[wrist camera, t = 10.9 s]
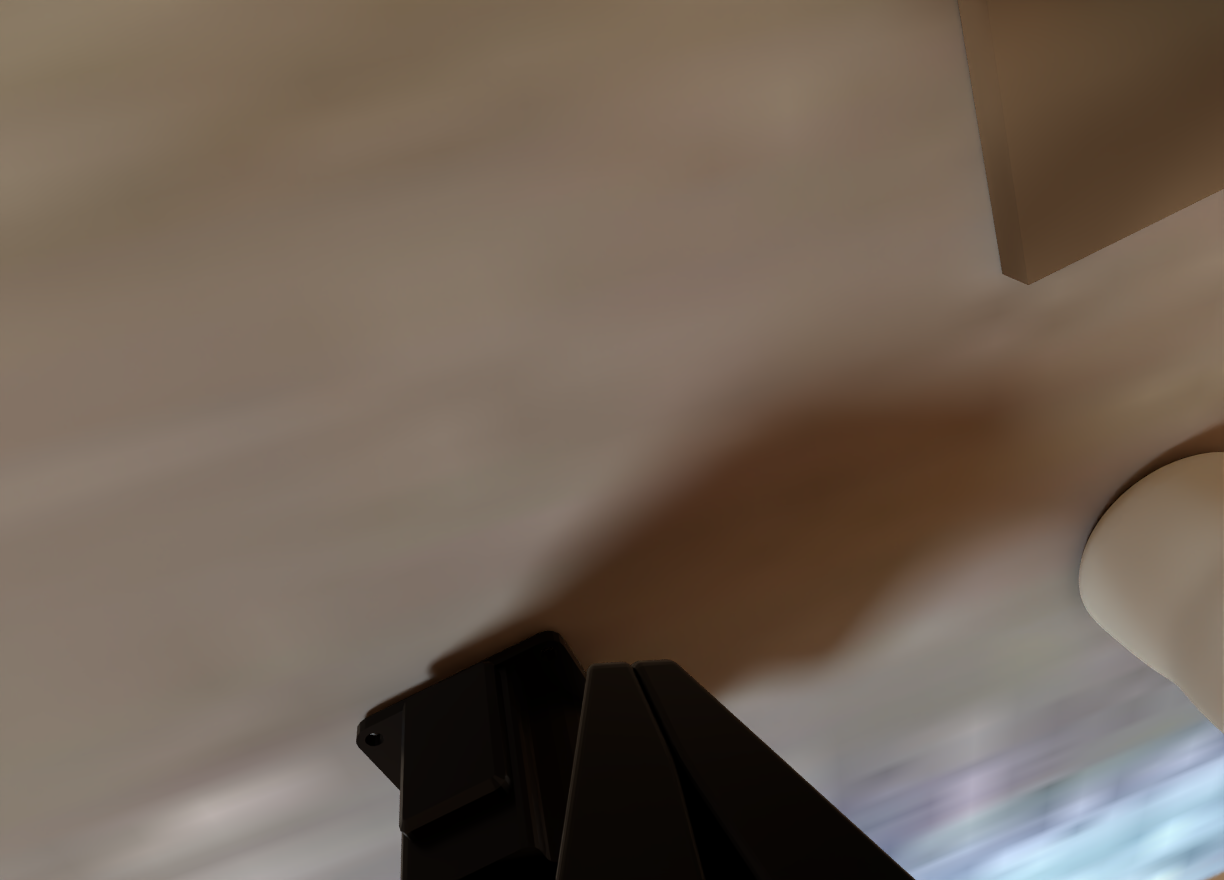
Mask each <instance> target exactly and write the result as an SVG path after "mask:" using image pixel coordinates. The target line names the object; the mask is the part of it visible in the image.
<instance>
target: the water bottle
mask: <svg viewBox="0 0 1224 880" xmlns="http://www.w3.org/2000/svg"><path fill="white" fill-rule="evenodd" d="M1079 590H1080V595H1081V599H1082V601H1083V604H1084V606H1085V608H1086V610H1087V611H1088V613H1089V614H1090V615H1091V617H1092V618H1093V619H1094V620H1095V621H1096V622H1097V623H1098V624H1099V625H1100V626H1101V627H1102V628H1103V629H1104V630H1105V631H1106V632H1107V633H1109V634H1110V635H1111V636H1112V637H1113V638H1114V639H1115V640H1117V641H1118V642H1119V643H1120V644H1121V645H1123V646H1124V647H1125V648H1126V649H1127V650H1129V651H1130V652H1131V653H1132V654H1134V655H1135V656H1136V657H1137V658H1139V659H1140V660H1141V661H1143V662H1144V663H1145V664H1147V665H1148V666H1149V667H1151V668H1152V669H1154V670H1155V671H1157V672H1158V673H1160V674H1161V675H1163V676H1164V677H1166V678H1167V679H1169V680H1170V681H1172V682H1173V683H1175V684H1176V685H1177V686H1178V687H1179V688H1180V689H1181V690H1182V691H1183V692H1184V694H1185V695H1186V696H1187V697H1188V698H1189V699H1190V701H1191V702H1192V703H1193V704H1194V705H1195V706H1196V707H1197V709H1198V710H1199V711H1200V712H1201V713H1202V714H1203V715H1204V716H1205V717H1206V718H1207V719H1208V720H1209V721H1210V722H1211V723H1212V724H1214V725H1215V726H1216V727H1217V728H1218V729H1219V730H1220V731H1221V732H1222V733H1223V734H1224V452H1211V453H1204V454H1199V455H1194V456H1190V457H1187V458H1183V459H1180V460H1178V461H1175V462H1173V463H1170V464H1168V465H1166V466H1163V467H1161V468H1159V469H1158V470H1156V471H1154V472H1152V473H1151V474H1149V475H1147V476H1146V477H1144V478H1143V479H1141V480H1140V481H1138V482H1137V483H1136V484H1134V485H1133V486H1132V487H1130V488H1129V489H1128V490H1127V491H1126V492H1125V493H1123V494H1122V495H1121V496H1120V497H1119V498H1118V499H1117V500H1116V501H1115V502H1114V503H1113V504H1112V505H1111V507H1110V508H1109V509H1108V510H1107V511H1106V513H1105V514H1104V515H1103V516H1102V518H1101V519H1100V520H1099V522H1098V523H1097V525H1096V527H1095V528H1094V530H1093V532H1092V533H1091V535H1090V537H1089V539H1088V542H1087V544H1086V546H1085V549H1084V552H1083V555H1082V559H1081V563H1080V569H1079Z"/></svg>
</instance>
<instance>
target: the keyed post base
mask: <svg viewBox="0 0 1224 880" xmlns="http://www.w3.org/2000/svg"><path fill="white" fill-rule="evenodd" d="M958 5H959V11H960V17H961V23H962V29H963V35H964V42H965V48H966V54H967V60H968V66H969V72H970V78H971V84H972V90H973V96H974V103H975V109H976V115H977V121H978V127H979V133H980V139H981V145H982V151H983V157H984V164H985V170H986V176H987V182H988V188H989V194H990V200H991V206H992V212H993V218H994V225H995V231H996V237H997V243H998V249H999V255H1000V261H1001V267H1002V273H1003V274H1004V275H1006V276H1008V277H1011V278H1013V279H1015V280H1018V281H1020V282H1023V283H1025V284H1027V285H1030V284H1032V283H1034V282H1036V281H1038V280H1040V279H1042V278H1044V277H1046V276H1048V275H1050V274H1052V273H1054V272H1056V271H1058V270H1060V269H1062V268H1064V267H1066V266H1068V265H1070V264H1072V263H1074V262H1076V261H1078V260H1080V259H1082V258H1084V257H1086V256H1088V255H1090V254H1092V253H1094V252H1096V251H1098V250H1100V249H1102V248H1104V247H1106V246H1109V245H1111V244H1113V243H1115V242H1117V241H1119V240H1121V239H1123V238H1125V237H1127V236H1129V235H1131V234H1133V233H1135V232H1137V231H1139V230H1141V229H1143V228H1145V227H1147V226H1149V225H1151V224H1153V223H1155V222H1157V221H1159V220H1161V219H1163V218H1165V217H1167V216H1169V215H1171V214H1173V213H1175V212H1177V211H1179V210H1181V209H1183V208H1186V207H1188V206H1190V205H1192V204H1194V203H1196V202H1198V201H1200V200H1202V199H1204V198H1206V197H1208V196H1210V195H1212V194H1214V193H1216V192H1218V191H1220V190H1222V189H1224V0H958Z"/></svg>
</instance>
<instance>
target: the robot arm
mask: <svg viewBox="0 0 1224 880" xmlns="http://www.w3.org/2000/svg"><path fill="white" fill-rule="evenodd" d="M548 647H552V648H553V649H552V650H550V651H546V652H545V651H542V650H543V649H544V648H548ZM372 733H379V734H378V735H370V734H372ZM356 743H357V745H358V747H359V748H360V749H361V750H362V751H363V752H364V753H365V754H366V755H367V756H368V757H369V759H370V760H371V761H372V762H373V763H374V764H375V765H376V766H377V767H378V768H379V769H380V770H381V771H382V772H383V773H384V774H385V775H386V776H387V777H388V778H389V779H390V781H391V782H392V783H393V784H394V785H395V786H396V787H397V788H398V789H399V790H400V812H399V827H400V831H401V832H402V844H401V880H915V879H914V878H913V877H912V876H911V875H910V874H908V873H907V872H906V871H905V870H904V869H903V868H902V867H901V866H900V865H899V864H897V863H896V862H895V861H894V860H893V859H892V858H891V857H890V856H889V855H888V854H886V853H885V852H884V851H883V850H882V849H881V848H880V847H879V846H878V845H877V844H875V843H874V842H873V841H872V840H871V839H870V838H869V837H868V836H867V835H866V834H864V833H863V832H862V831H861V830H860V829H859V828H858V827H857V826H856V825H855V824H853V823H852V822H851V821H850V820H849V819H848V818H847V817H846V816H845V815H844V814H842V813H841V812H840V811H839V810H838V809H837V808H836V807H835V806H834V805H832V804H831V803H830V802H829V801H828V800H827V799H826V798H825V797H824V796H823V795H821V794H820V793H819V792H818V791H817V790H816V789H815V788H814V787H813V786H812V785H810V784H809V783H808V782H807V781H806V780H805V779H804V778H803V777H802V776H801V775H799V774H798V773H797V772H796V771H795V770H794V769H793V768H792V767H791V766H790V765H788V764H787V763H786V762H785V761H784V760H783V759H782V758H781V757H780V756H779V755H777V754H776V753H775V752H774V751H773V750H772V749H771V748H770V747H769V746H768V745H766V744H765V743H764V742H763V741H762V740H761V739H760V738H759V737H758V736H756V735H755V734H754V733H753V732H752V731H751V730H750V729H749V728H748V727H747V726H745V725H744V724H743V723H742V722H741V721H740V720H739V719H738V718H737V717H736V716H734V715H733V714H732V713H731V712H730V711H729V710H728V709H727V708H726V707H725V706H723V705H722V704H721V703H720V702H719V701H718V700H717V699H716V698H715V697H714V696H712V695H711V694H710V693H709V692H708V691H707V690H706V689H705V688H704V687H703V686H701V685H700V684H699V683H698V682H697V681H696V680H695V679H694V678H693V677H692V676H690V675H689V674H688V673H687V672H686V671H685V670H684V669H683V668H682V667H680V666H679V665H678V664H677V663H675V662H674V661H672V660H647V661H637V662H635V663H633V664H632V665H629V664H628V663H626V662H611V663H595V664H592V665H590V666H589V668H588V671H587V674H586V673H585V671H584V670H583V668H582V666H581V665H580V663H579V662H578V660H577V659H576V657H575V656H574V654H573V653H572V651H571V650H570V648H569V647H568V645H567V643H566V642H565V640H564V639H563V637H562V636H561V635H560V634H559V633H556V632H553V631H544V632H541V633H538V634H536V635H534V636H532V637H530V638H528V639H526V640H524V641H522V642H520V643H518V644H516V645H514V646H512V647H510V648H508V649H506V650H504V651H502V652H500V653H498V654H496V655H494V656H492V657H490V658H487V659H485V660H483V661H481V662H479V663H477V664H475V665H473V666H471V667H469V668H467V669H465V670H463V671H461V672H459V673H457V674H455V675H453V676H451V677H449V678H447V679H445V680H443V681H441V682H439V683H437V684H435V685H433V686H430V687H428V688H426V689H424V690H422V691H420V692H418V693H416V694H414V695H412V696H410V697H408V698H406V699H404V700H402V701H400V702H398V703H396V704H394V705H392V706H390V707H388V708H386V709H384V710H382V711H380V712H378V713H376V714H373V715H371V716H369V717H367V718H365V719H364V720H363V721H361V722H360V724H359V725H358V727H357V738H356Z"/></svg>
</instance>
